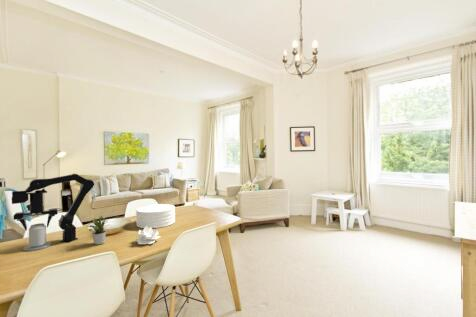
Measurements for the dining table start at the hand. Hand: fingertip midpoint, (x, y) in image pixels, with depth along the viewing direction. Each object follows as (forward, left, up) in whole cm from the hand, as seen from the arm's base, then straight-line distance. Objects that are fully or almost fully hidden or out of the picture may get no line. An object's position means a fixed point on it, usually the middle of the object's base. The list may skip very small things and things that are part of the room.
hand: (37, 228), depth 134 cm
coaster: (0, 0, -11) cm, 11 cm away
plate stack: (-39, -58, -11) cm, 70 cm away
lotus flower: (-57, -21, -11) cm, 61 cm away
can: (0, 0, -10) cm, 10 cm away
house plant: (-29, -13, -11) cm, 33 cm away
